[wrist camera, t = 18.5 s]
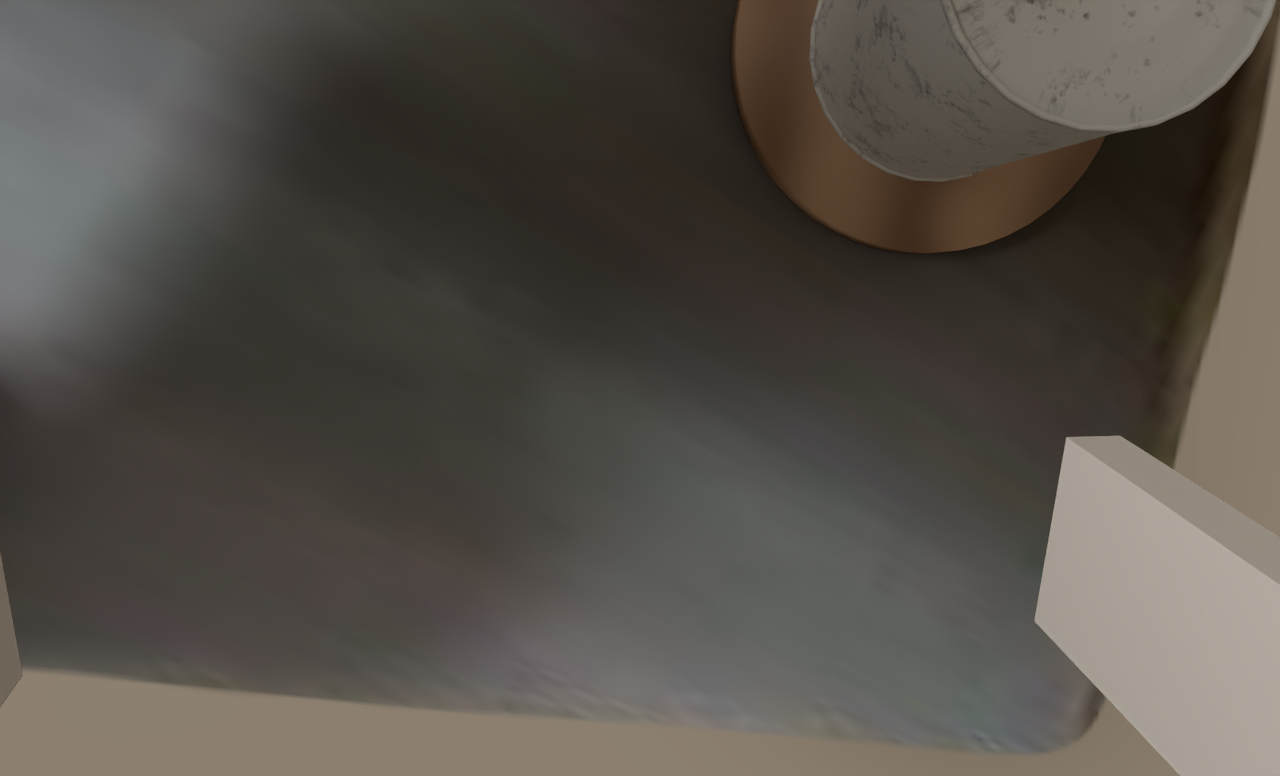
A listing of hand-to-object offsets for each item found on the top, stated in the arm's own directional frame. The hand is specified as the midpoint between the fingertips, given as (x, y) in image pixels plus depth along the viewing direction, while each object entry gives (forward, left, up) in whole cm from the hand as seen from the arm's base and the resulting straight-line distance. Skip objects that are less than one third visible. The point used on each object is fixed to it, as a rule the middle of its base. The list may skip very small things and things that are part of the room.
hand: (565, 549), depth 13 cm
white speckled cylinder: (+15, +12, -26) cm, 32 cm away
